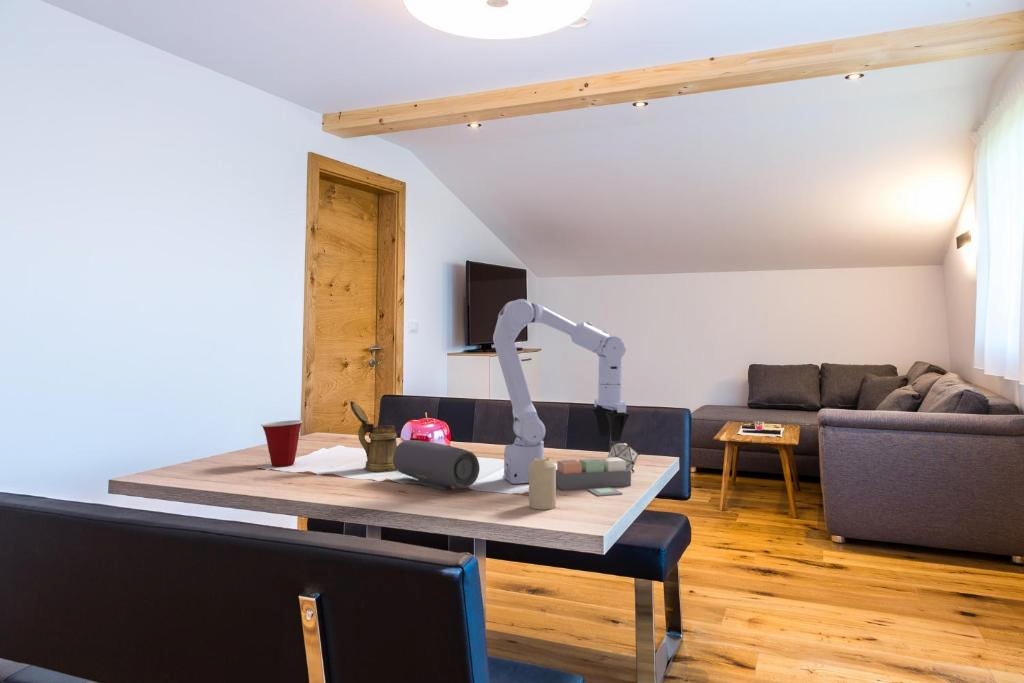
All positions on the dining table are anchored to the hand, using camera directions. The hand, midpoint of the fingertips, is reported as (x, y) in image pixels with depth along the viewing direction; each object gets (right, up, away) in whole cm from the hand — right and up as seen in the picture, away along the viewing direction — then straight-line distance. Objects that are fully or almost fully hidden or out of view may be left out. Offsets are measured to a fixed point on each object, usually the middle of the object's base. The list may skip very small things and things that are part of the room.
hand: (609, 438), depth 168 cm
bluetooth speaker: (-43, -10, -9) cm, 45 cm away
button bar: (-6, -10, -10) cm, 15 cm away
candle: (-18, -10, -29) cm, 36 cm away
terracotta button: (-11, -7, -11) cm, 17 cm away
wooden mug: (-61, -10, +10) cm, 62 cm away
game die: (+4, -10, +5) cm, 12 cm away
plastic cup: (-87, -10, +15) cm, 89 cm away
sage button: (-6, -7, -10) cm, 13 cm away
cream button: (0, -7, -8) cm, 11 cm away
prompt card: (-3, -10, -17) cm, 20 cm away
